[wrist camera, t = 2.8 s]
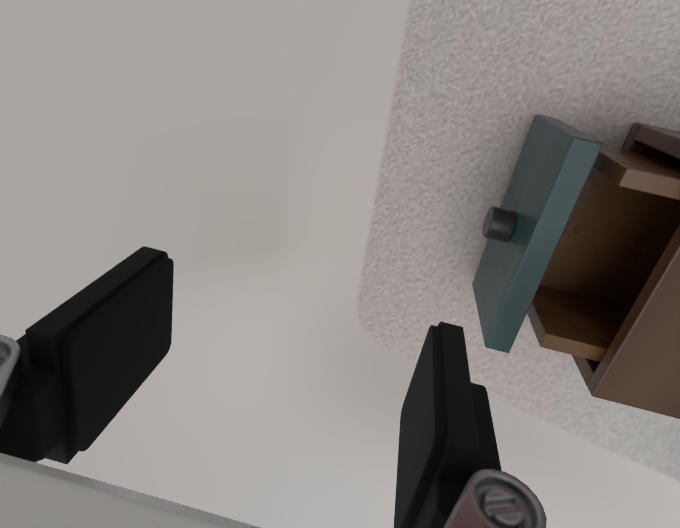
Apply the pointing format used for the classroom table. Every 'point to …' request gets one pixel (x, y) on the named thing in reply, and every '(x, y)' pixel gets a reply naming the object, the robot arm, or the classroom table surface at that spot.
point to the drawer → (573, 240)
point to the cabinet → (646, 318)
